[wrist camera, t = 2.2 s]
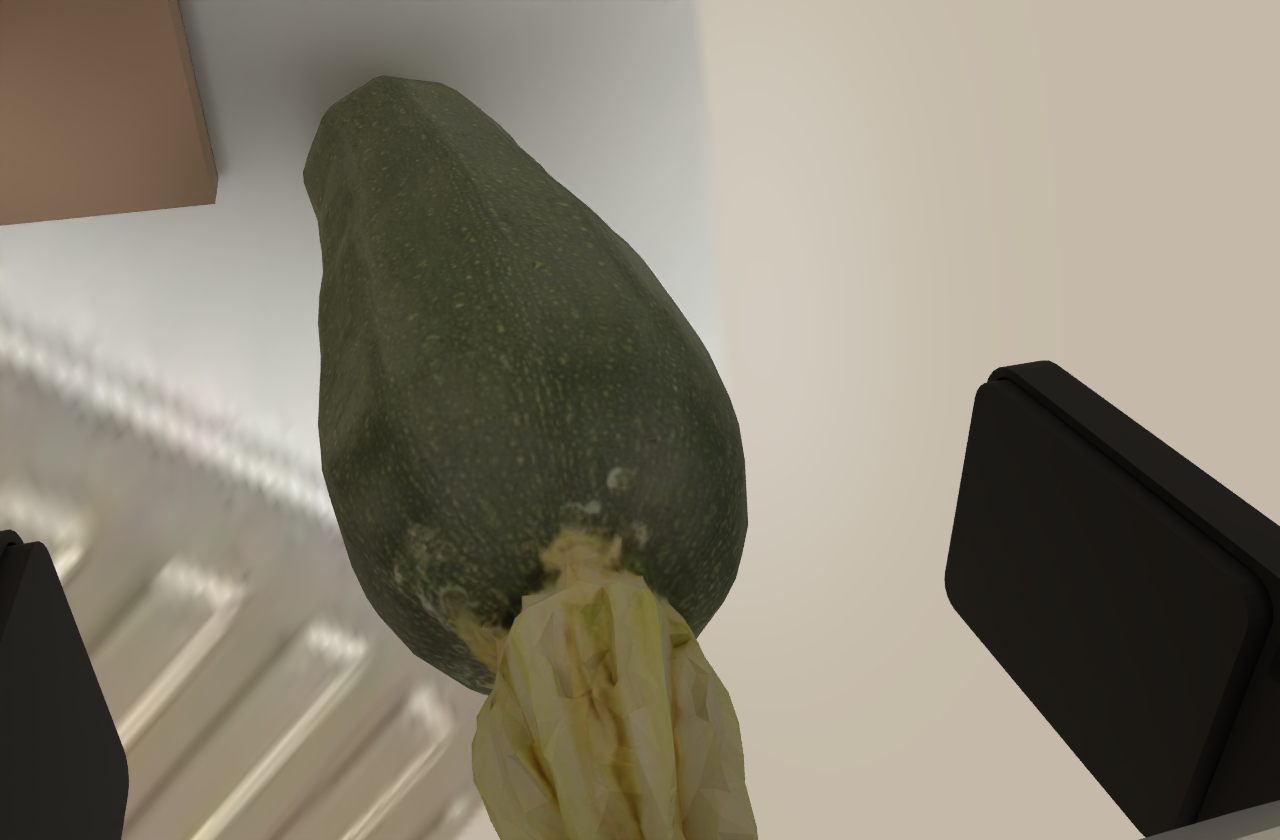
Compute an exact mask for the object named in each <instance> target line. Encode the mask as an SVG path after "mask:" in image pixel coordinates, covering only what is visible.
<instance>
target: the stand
mask: <svg viewBox="0 0 1280 840" xmlns="http://www.w3.org/2000/svg"><path fill="white" fill-rule="evenodd" d="M217 185H218V176H217V171H216V167H215V162H214V158H213V154H212V149H211V145H210V140H209V136H208V132H207V127H206V123H205V119H204V114H203V110H202V105H201V101H200V97H199V92H198V88H197V83H196V79H195V75H194V70H193V66H192V61H191V57H190V53H189V48H188V44H187V40H186V35H185V31H184V26H183V22H182V18H181V13H180V9H179V4H178V0H0V226H1V225H10V224H20V223H30V222H40V221H50V220H59V219H69V218H79V217H89V216H99V215H108V214H118V213H128V212H138V211H148V210H157V209H167V208H177V207H187V206H197V205H206V204H215V199H216V192H217Z"/></svg>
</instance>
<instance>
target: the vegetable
mask: <svg viewBox="0 0 1280 840" xmlns="http://www.w3.org/2000/svg"><path fill="white" fill-rule="evenodd" d="M303 176H304V184H305V187H306V190H307V193H308V195H309V198H310V201H311V204H312V206H313V209H314V212H315V214H316V217H317V220H318V226H319V236H320V243H321V249H322V262H323V277H322V283H321V289H320V296H319V316H318V327H319V340H320V352H321V373H320V392H319V417H318V428H319V438H320V448H321V461H322V472H323V475H324V479H325V482H326V486H327V489H328V492H329V496H330V499H331V503H332V506H333V509H334V512H335V515H336V518H337V522H338V525H339V528H340V531H341V534H342V537H343V540H344V544H345V547H346V550H347V553H348V556H349V559H350V562H351V566H352V568H353V570H354V572H355V574H356V576H357V578H358V581H359V583H360V585H361V587H362V589H363V591H364V593H365V595H366V597H367V599H368V600H369V602H370V603H371V605H372V606H373V608H374V609H375V611H376V612H377V614H378V615H379V616H380V617H381V618H382V619H383V621H384V622H385V623H386V624H387V625H388V626H389V627H390V628H391V629H392V630H393V632H394V633H395V634H396V635H397V636H398V637H399V638H400V639H401V640H402V642H403V643H404V644H405V645H406V646H407V647H408V648H409V649H410V650H411V651H412V653H413V654H414V655H416V656H418V657H419V658H421V659H422V660H424V661H426V662H427V663H429V664H430V665H432V666H434V667H435V668H437V669H438V670H440V671H442V672H443V673H445V674H446V675H448V676H450V677H451V678H453V679H454V680H456V681H458V682H459V683H461V684H462V685H464V686H466V687H467V688H469V689H471V690H474V691H476V692H479V693H481V694H484V695H489V696H488V698H487V699H486V701H485V703H484V705H483V707H482V708H481V710H480V712H479V714H478V715H477V731H476V733H475V736H474V739H473V742H472V770H473V780H474V783H475V785H476V786H477V788H478V790H479V792H480V794H481V797H482V799H483V802H484V805H485V807H486V810H487V812H488V815H489V817H490V820H491V822H492V824H493V826H494V828H495V830H496V832H497V834H498V836H499V837H500V839H501V840H758V835H757V826H756V823H755V819H754V815H753V812H752V807H751V804H750V800H749V796H748V792H747V788H746V785H745V773H744V755H743V748H742V741H741V734H740V728H739V722H738V719H737V716H736V713H735V710H734V708H733V704H732V702H731V699H730V696H729V693H728V691H727V690H726V688H725V687H724V685H723V684H722V682H721V680H720V679H719V677H718V676H717V674H716V673H715V671H714V670H713V668H712V667H711V665H710V664H709V662H708V661H707V660H706V658H705V657H704V654H703V652H702V650H701V648H700V646H699V643H698V642H697V640H696V639H697V637H698V636H699V634H700V633H701V632H702V631H703V629H704V628H705V626H706V625H707V624H708V622H709V621H710V620H711V618H712V617H713V616H714V614H715V613H716V611H717V610H718V609H719V608H720V606H721V605H722V603H723V602H724V600H725V598H726V597H727V594H728V593H729V591H730V589H731V587H732V585H733V583H734V581H735V579H736V576H737V572H738V568H739V564H740V560H741V556H742V552H743V547H744V542H745V537H746V532H747V528H748V516H747V515H748V514H747V496H746V475H745V459H744V453H743V447H742V441H741V435H740V428H739V423H738V420H737V417H736V414H735V412H734V409H733V406H732V403H731V400H730V397H729V395H728V393H727V391H726V389H725V387H724V384H723V382H722V380H721V378H720V376H719V374H718V371H717V369H716V367H715V365H714V363H713V361H712V359H711V356H710V354H709V353H708V351H707V349H706V348H705V346H704V344H703V343H702V341H701V340H700V338H699V336H698V335H697V334H696V332H695V331H694V329H693V328H692V326H691V325H690V324H689V322H688V321H687V319H686V318H685V317H684V315H683V314H682V312H681V311H680V309H679V308H678V307H677V305H676V304H675V302H674V301H673V300H672V298H671V297H670V296H669V294H668V293H667V291H666V290H665V289H664V287H663V286H662V285H661V283H660V282H659V280H658V279H657V278H656V276H655V275H654V274H653V272H652V271H651V270H650V268H649V267H648V266H647V264H646V263H645V262H644V260H643V259H642V258H641V257H640V256H639V255H638V254H637V253H636V252H635V250H634V249H633V248H632V247H631V246H630V245H629V244H628V243H627V242H626V241H625V240H624V239H622V238H621V237H620V236H619V235H618V234H616V233H615V232H614V231H613V230H612V229H611V228H610V227H609V226H608V225H607V224H606V223H605V222H604V221H603V220H602V219H601V218H600V217H599V216H598V215H597V214H596V213H595V212H593V211H592V210H591V209H590V208H589V207H588V206H587V205H586V204H584V203H583V202H582V201H581V200H579V199H578V198H577V197H576V196H575V195H573V194H572V193H571V192H570V191H569V190H567V189H566V188H565V187H564V186H562V185H561V184H560V183H559V182H557V181H556V180H555V179H554V178H552V177H551V176H550V175H549V174H548V173H547V172H546V171H545V170H544V168H543V167H542V166H541V165H540V164H539V163H537V162H536V161H535V160H534V159H533V158H532V157H531V156H530V155H528V154H527V153H526V152H525V151H524V150H523V149H522V148H520V147H519V146H518V145H517V143H516V142H515V141H514V139H513V138H512V137H511V136H510V135H509V134H508V133H507V132H506V131H505V130H504V129H503V128H502V127H501V126H500V125H499V124H498V123H497V122H495V121H494V120H493V119H491V118H490V117H489V116H488V115H486V114H485V113H484V112H483V111H482V110H481V109H480V108H478V107H477V106H476V105H474V104H473V103H472V102H471V101H469V100H468V99H467V98H465V97H464V96H463V95H462V94H460V93H459V92H458V91H456V90H454V89H452V88H450V87H448V86H445V85H443V84H441V83H436V82H427V81H419V80H410V79H403V78H396V77H390V76H380V77H377V78H373V79H372V80H371V81H369V82H368V83H366V84H365V85H363V86H362V87H360V88H358V89H357V90H355V91H354V92H352V93H351V94H349V95H347V96H346V97H344V98H343V99H341V100H340V101H338V102H336V103H335V104H333V105H332V106H331V107H330V108H329V109H328V111H327V112H326V113H325V115H324V116H323V118H322V120H321V122H320V125H319V128H318V130H317V133H316V135H315V138H314V141H313V143H312V146H311V149H310V151H309V154H308V157H307V161H306V164H305V168H304V171H303Z"/></svg>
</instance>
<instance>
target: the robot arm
mask: <svg viewBox="0 0 1280 840" xmlns="http://www.w3.org/2000/svg"><path fill="white" fill-rule="evenodd" d="M945 589H946V592H947V596H948V598H949V601H950V603H951V605H952V606H953V608H954V609H955V610H956V611H957V613H958V614H959V615H960V617H961V618H962V619H963V620H964V621H965V622H966V624H967V625H968V626H969V627H970V629H971V630H972V631H973V632H974V633H975V634H976V636H977V637H978V638H979V639H980V640H981V642H982V643H983V644H984V645H985V646H986V648H987V649H988V650H989V651H990V653H991V654H992V655H993V656H994V657H995V658H996V660H997V661H998V662H999V663H1000V665H1001V666H1002V667H1003V668H1004V669H1005V671H1006V672H1007V673H1008V674H1009V675H1010V676H1011V678H1012V679H1013V680H1014V681H1015V682H1016V684H1017V685H1018V686H1019V687H1020V689H1021V690H1022V691H1023V692H1024V693H1025V695H1026V696H1027V697H1028V698H1029V699H1030V701H1031V702H1033V704H1034V705H1035V706H1036V708H1037V709H1038V710H1039V711H1040V713H1041V714H1042V715H1043V716H1044V717H1045V718H1046V720H1047V721H1048V722H1049V723H1050V724H1051V726H1052V727H1053V728H1054V729H1055V731H1056V732H1057V733H1058V734H1059V735H1060V737H1061V738H1062V739H1063V740H1064V741H1065V743H1066V744H1067V745H1068V746H1069V747H1070V749H1071V750H1072V751H1073V752H1074V753H1075V755H1076V756H1077V757H1078V758H1079V759H1080V761H1081V762H1082V763H1083V764H1084V765H1085V767H1086V768H1087V769H1088V770H1089V771H1090V773H1091V774H1092V775H1093V776H1094V777H1095V779H1096V780H1097V781H1098V782H1099V783H1100V785H1101V786H1102V787H1103V788H1104V789H1105V791H1106V792H1107V793H1108V794H1109V795H1110V796H1111V798H1112V799H1113V800H1114V801H1115V803H1116V804H1117V805H1118V806H1119V807H1120V809H1121V810H1122V811H1123V812H1124V813H1125V815H1126V816H1127V817H1128V818H1129V819H1130V821H1131V822H1132V823H1133V824H1134V825H1135V827H1136V828H1137V829H1138V830H1139V831H1140V832H1141V833H1142V834H1143V835H1144V836H1145V837H1146V838H1143V839H1140V840H1280V526H1278V525H1277V524H1276V523H1274V522H1273V521H1272V520H1270V519H1269V518H1268V517H1266V516H1265V515H1263V514H1262V513H1261V512H1259V511H1258V510H1257V509H1255V508H1254V507H1252V506H1251V505H1250V504H1248V503H1247V502H1245V501H1244V500H1243V499H1241V498H1240V497H1239V496H1237V495H1236V494H1234V493H1233V492H1232V491H1230V490H1229V489H1227V488H1226V487H1225V486H1223V485H1222V484H1221V483H1219V482H1218V481H1217V480H1215V479H1214V478H1212V477H1211V476H1210V475H1208V474H1207V473H1205V472H1204V471H1203V470H1201V469H1200V468H1199V467H1197V466H1196V465H1194V464H1193V463H1192V462H1190V461H1189V460H1188V459H1186V458H1185V457H1184V456H1182V455H1181V454H1179V453H1178V452H1177V451H1175V450H1174V449H1173V448H1171V447H1170V446H1168V445H1167V444H1166V443H1164V442H1163V441H1162V440H1160V439H1159V438H1157V437H1156V436H1155V435H1153V434H1152V433H1150V432H1149V431H1148V430H1146V429H1145V428H1144V427H1142V426H1141V425H1139V424H1138V423H1136V422H1135V421H1134V420H1133V419H1131V418H1130V417H1128V416H1127V415H1126V414H1124V413H1123V412H1122V411H1120V410H1119V409H1117V408H1116V407H1115V406H1113V405H1112V404H1111V403H1109V402H1108V401H1106V400H1105V399H1104V398H1102V397H1101V396H1100V395H1098V394H1097V393H1095V392H1094V391H1093V390H1091V389H1090V388H1088V387H1087V386H1086V385H1084V384H1083V383H1082V382H1080V381H1079V380H1077V379H1076V378H1075V377H1073V376H1072V375H1071V374H1069V373H1068V372H1066V371H1065V370H1064V369H1062V368H1061V367H1060V366H1058V365H1057V364H1055V363H1053V362H1051V361H1036V362H1030V363H1024V364H1018V365H1012V366H1006V367H1000V368H998V369H996V370H995V371H993V372H992V374H991V375H990V377H989V378H988V381H987V383H984V384H983V385H981V386H980V387H979V389H978V390H977V393H976V396H975V401H974V407H973V413H972V418H971V424H970V430H969V436H968V442H967V447H966V453H965V459H964V465H963V472H962V478H961V483H960V488H959V495H958V501H957V507H956V512H955V518H954V525H953V530H952V535H951V541H950V547H949V553H948V559H947V565H946V570H945ZM128 788H129V775H128V765H127V760H126V755H125V752H124V749H123V746H122V744H121V741H120V738H119V736H118V733H117V730H116V728H115V725H114V723H113V720H112V717H111V715H110V712H109V709H108V707H107V704H106V701H105V699H104V696H103V694H102V691H101V688H100V686H99V683H98V680H97V678H96V675H95V673H94V670H93V667H92V665H91V662H90V659H89V657H88V654H87V651H86V649H85V646H84V644H83V641H82V638H81V636H80V633H79V630H78V628H77V625H76V622H75V620H74V617H73V615H72V612H71V609H70V607H69V604H68V601H67V599H66V596H65V594H64V591H63V588H62V586H61V583H60V580H59V578H58V575H57V572H56V570H55V567H54V565H53V562H52V559H51V557H50V554H49V552H48V550H47V548H46V547H45V545H44V544H43V543H41V542H39V541H37V542H31V543H25V544H24V543H23V541H22V539H21V538H20V537H19V535H18V534H17V533H16V532H15V531H12V530H4V531H0V840H121V836H122V829H123V823H124V816H125V810H126V804H127V797H128Z"/></svg>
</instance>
